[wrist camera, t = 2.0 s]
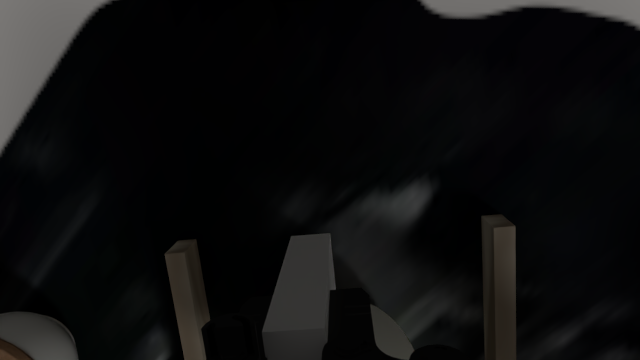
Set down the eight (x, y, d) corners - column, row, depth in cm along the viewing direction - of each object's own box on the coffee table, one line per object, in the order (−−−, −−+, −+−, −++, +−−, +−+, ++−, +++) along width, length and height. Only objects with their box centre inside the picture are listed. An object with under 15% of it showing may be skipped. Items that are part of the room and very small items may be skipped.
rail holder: (501, 214, 36) (515, 226, 33) (503, 374, 39) (516, 398, 36) (178, 240, 38) (164, 254, 35) (205, 392, 41) (195, 415, 38)
